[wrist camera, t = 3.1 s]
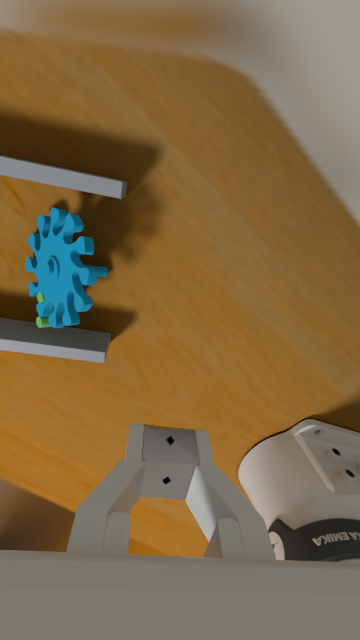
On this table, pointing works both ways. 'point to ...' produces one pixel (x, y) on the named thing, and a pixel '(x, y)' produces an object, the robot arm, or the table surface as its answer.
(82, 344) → the bay
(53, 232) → the gear
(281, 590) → the robot arm
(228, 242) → the table surface
